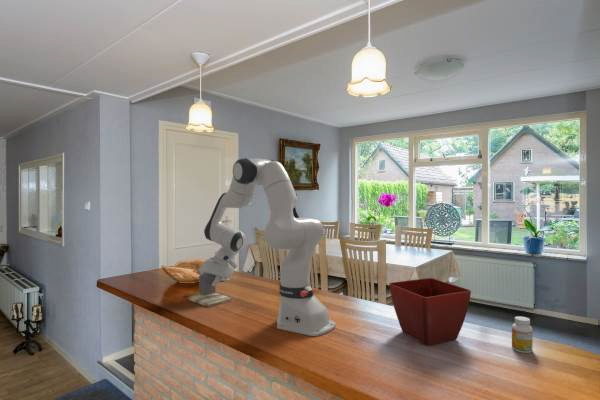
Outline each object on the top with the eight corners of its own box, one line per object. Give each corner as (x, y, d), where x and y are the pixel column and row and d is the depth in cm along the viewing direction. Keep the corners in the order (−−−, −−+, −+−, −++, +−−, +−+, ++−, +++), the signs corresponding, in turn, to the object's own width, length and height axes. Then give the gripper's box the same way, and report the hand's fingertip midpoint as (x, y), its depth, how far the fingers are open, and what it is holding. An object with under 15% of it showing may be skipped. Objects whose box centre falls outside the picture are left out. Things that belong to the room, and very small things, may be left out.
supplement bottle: (513, 344, 113) (513, 314, 112) (533, 349, 109) (533, 317, 109) (510, 350, 108) (510, 318, 108) (531, 355, 105) (531, 322, 105)
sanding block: (215, 293, 165) (215, 274, 165) (204, 296, 161) (204, 277, 160) (210, 292, 168) (209, 273, 168) (199, 295, 163) (198, 275, 163)
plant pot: (387, 329, 125) (387, 282, 125) (431, 322, 132) (431, 277, 131) (424, 352, 107) (424, 297, 107) (472, 342, 114) (472, 290, 113)
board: (231, 300, 159) (231, 297, 159) (209, 307, 150) (209, 304, 150) (210, 293, 169) (210, 291, 169) (188, 299, 160) (188, 297, 160)
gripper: (206, 253, 176) (189, 276, 169) (232, 258, 163) (214, 283, 155) (213, 260, 179) (197, 284, 172) (239, 266, 166) (223, 291, 159)
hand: (205, 283), depth 164 cm, fingers open, 8 cm apart
